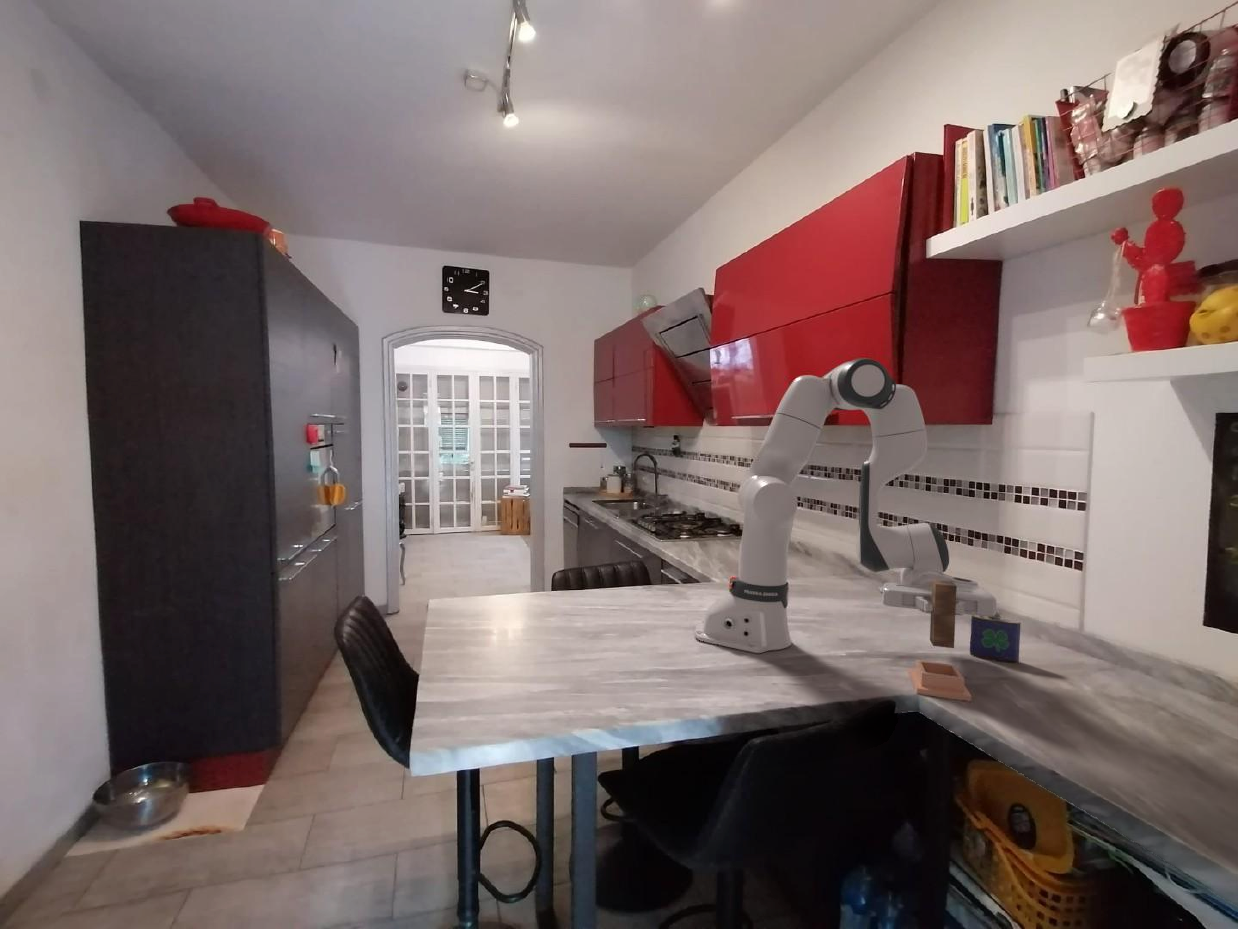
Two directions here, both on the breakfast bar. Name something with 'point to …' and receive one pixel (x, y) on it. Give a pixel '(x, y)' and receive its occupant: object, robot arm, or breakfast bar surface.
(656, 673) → the breakfast bar surface
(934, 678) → the terracotta holder
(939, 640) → the walnut stick
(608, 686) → the breakfast bar surface
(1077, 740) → the breakfast bar surface
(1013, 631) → the flask
